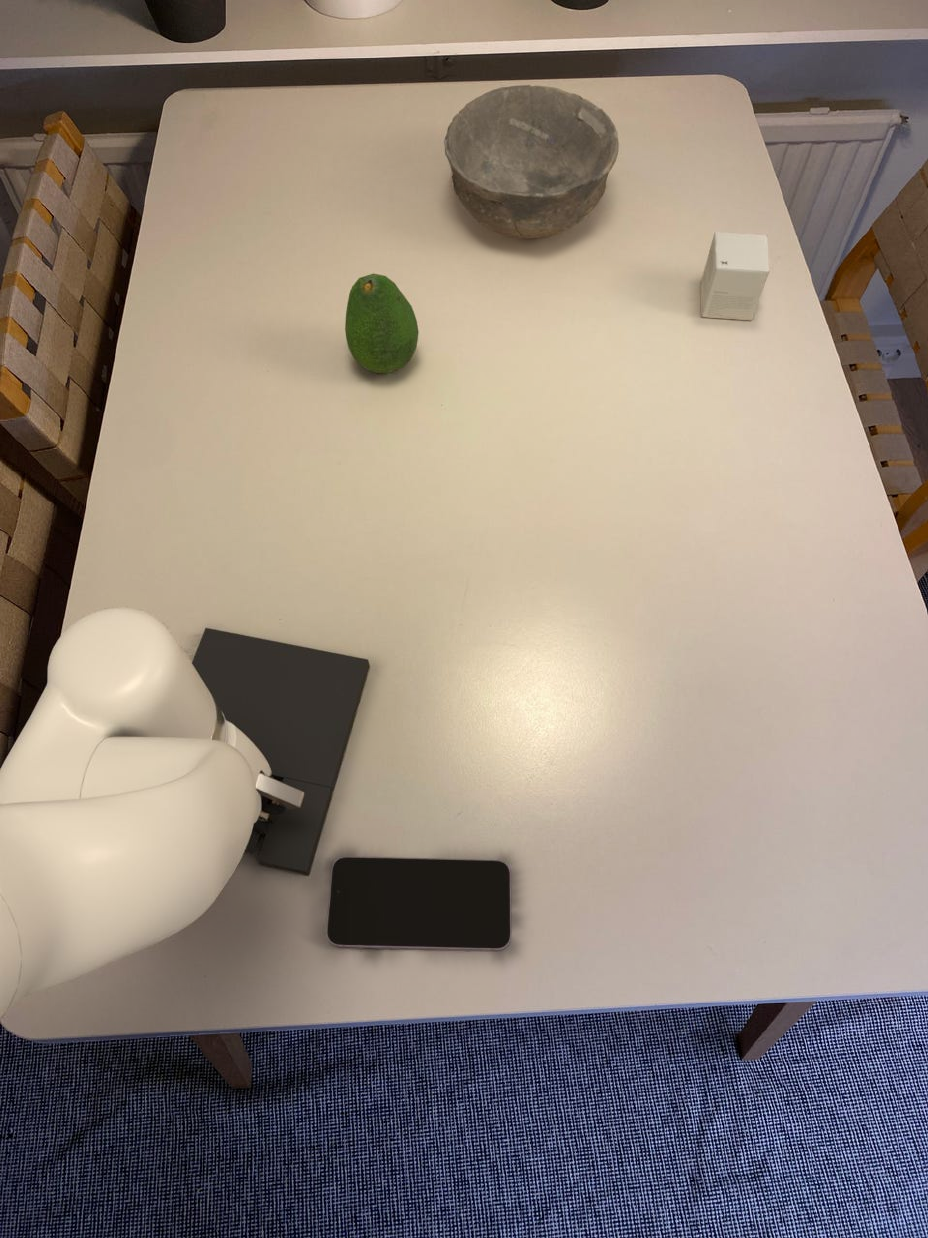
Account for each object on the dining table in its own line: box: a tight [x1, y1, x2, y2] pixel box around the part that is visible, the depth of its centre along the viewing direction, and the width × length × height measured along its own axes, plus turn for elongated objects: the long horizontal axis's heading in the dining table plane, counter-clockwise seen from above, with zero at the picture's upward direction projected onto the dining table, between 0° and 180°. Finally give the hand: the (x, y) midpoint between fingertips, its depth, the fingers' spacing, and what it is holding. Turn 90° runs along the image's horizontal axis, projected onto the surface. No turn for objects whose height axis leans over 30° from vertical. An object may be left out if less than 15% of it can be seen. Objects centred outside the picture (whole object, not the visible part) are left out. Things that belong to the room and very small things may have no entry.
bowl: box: [443, 84, 620, 239], centre depth 112 cm, size 21×21×10 cm
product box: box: [699, 231, 771, 321], centre depth 106 cm, size 6×6×7 cm
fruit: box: [344, 272, 419, 374], centre depth 99 cm, size 8×8×12 cm
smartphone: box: [325, 855, 512, 952], centre depth 76 cm, size 7×1×15 cm
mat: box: [191, 627, 371, 876], centre depth 82 cm, size 20×16×2 cm
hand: (227, 807), depth 78 cm, fingers closed on pad piece, 6 cm apart
